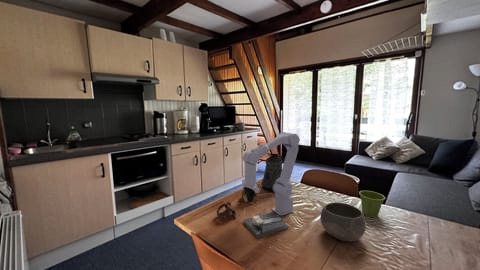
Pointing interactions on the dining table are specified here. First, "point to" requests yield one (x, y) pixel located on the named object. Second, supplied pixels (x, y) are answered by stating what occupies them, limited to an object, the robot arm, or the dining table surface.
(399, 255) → the dining table surface
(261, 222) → the block
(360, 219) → the bowl
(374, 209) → the plant pot
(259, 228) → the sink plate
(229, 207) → the pottery mug
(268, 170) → the beer stein
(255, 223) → the strap
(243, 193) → the stuffed squirrel
